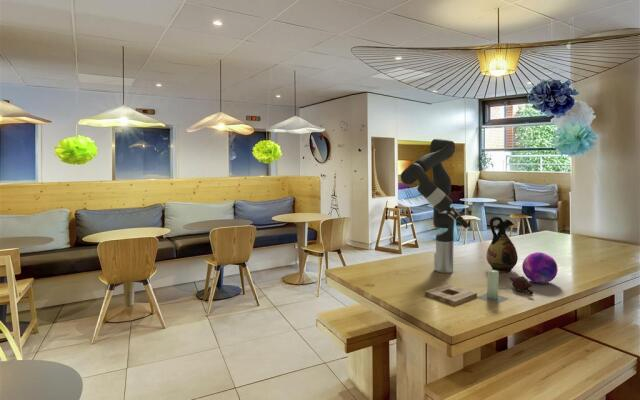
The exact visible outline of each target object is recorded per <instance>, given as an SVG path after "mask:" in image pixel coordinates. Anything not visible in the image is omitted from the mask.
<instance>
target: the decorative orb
mask: <svg viewBox="0 0 640 400" xmlns="http://www.w3.org/2000/svg"><path fill="white" fill-rule="evenodd" d="M521 265H522V272H523V274H524V275H525V276H524V277H525V278H526V279H527V280H529V281H531V282H532V283H533V282H534V283H536V284H547V283H549V282H551V281H553V280H554V279H555V278H556V276H557V274H558V270H559V269H558V264H557V261H556V260H555V258H553V256H552V255H549V254H547V253H545V252H542V251H541V252H533V253H529V254H528V255H527V256H526V257H524V260H523V262H522V264H521Z"/></svg>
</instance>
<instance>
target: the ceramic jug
mask: <svg viewBox="0 0 640 400" xmlns="http://www.w3.org/2000/svg"><path fill="white" fill-rule="evenodd" d="M495 221H499V223H497V224H496V226H494V222H495ZM513 226H514V223H513V221H511V220H510V219H508V218H507V219H504V220H503V219H502V217H500V216H498V215H497V216H492V217H491V218H489V227H490V230H491V234H492V238H491V239H492V240H491V242H490V244H488V247H487V250H486V255H485V256H486V260H487V261H486V262H487V263H488V264H489V266H490V267H491V270H496V271H499V273H502V274H503V273H504V274H510V273H512V270H513V268H515V266H516V265H517V263H518V259H519V257H518V252H517V249H516V247H515V245H514V243H513V242H512V240H511V238H510V237H509V236H508V234H507V232H506V229H508V228H510V227H513ZM495 229H498V231H497V232H496V230H495Z"/></svg>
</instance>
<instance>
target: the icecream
mask: <svg viewBox="0 0 640 400" xmlns="http://www.w3.org/2000/svg"><path fill="white" fill-rule="evenodd" d="M509 279H510V281H511V282H512V288H514V290H516V291H520V292H526V293H528V295H531V296H532V295H534V291H533V290H532V289H530V288H532V287H533V284H532V283H531V282H529V279H528V278H527V277H526V276H524V275H522V276H520V275H519V276H516V277H515V276H509Z"/></svg>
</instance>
